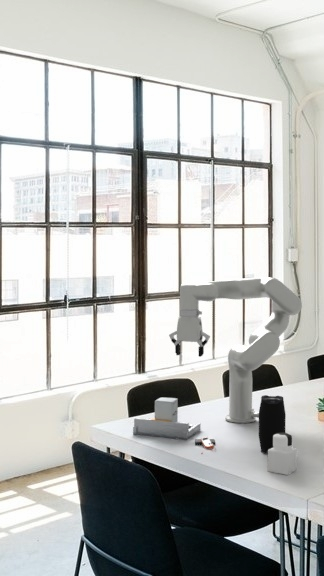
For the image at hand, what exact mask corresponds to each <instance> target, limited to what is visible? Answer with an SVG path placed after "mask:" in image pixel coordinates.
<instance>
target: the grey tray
mask: <svg viewBox="0 0 324 576" xmlns="http://www.w3.org/2000/svg"><path fill="white" fill-rule="evenodd" d="M133 419H134V421H133V423H134V425H133V427H132V434H133V435H135V436H136V435H137V436H145V437H146V436H147V437H155V438H162V439H163V438H164V439H170V440H171V439H173V440H183V441H188V440H189V439H191V438H192V437H194V435H196V434H197V433H199V432H200V431H201V422H197V423H196V424H190V422H183V421H182V422H181V421H178V422H173V421H171V420H161V419H155V418H141V417H140V418H139V417H134V418H133Z"/></svg>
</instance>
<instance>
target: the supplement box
mask: <svg viewBox="0 0 324 576" xmlns="http://www.w3.org/2000/svg"><path fill="white" fill-rule="evenodd" d="M178 400H179V399H178V398H176V397H158V398H157V399H156V400H154V419H161V420H171V421H173V422H179V421H178V419H179V418H178V417H179V416H178V414H179V411H178V410H179V409H178V406H179V404H178V403H179V402H178Z"/></svg>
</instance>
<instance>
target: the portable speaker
mask: <svg viewBox="0 0 324 576" xmlns="http://www.w3.org/2000/svg"><path fill="white" fill-rule="evenodd" d="M260 399H261V400H260V405H259V409H258V412H259V418H258V440H259V446H260V452H261V453H262V454H267V453H268V450H269V449H271V448H273V435H274V434H276V433H286V418H287V417H286V415H287V414H286V409H285V408H286V407H285V402H284V396H282V395H275V396H274V395H270V396H269V395H261V397H260Z"/></svg>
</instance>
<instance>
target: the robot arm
mask: <svg viewBox="0 0 324 576" xmlns="http://www.w3.org/2000/svg"><path fill="white" fill-rule="evenodd" d="M260 298H267V299H270V300H271V301H272V302H271V309H272V310H271V313H270V316H269V318H268V319H267V320H266V321H264V323H262V324H261V325H260V326H259V327H258V328H256V329H255V330H254V331H253V332H252V333H251V334H250V336H248V337H249V338H248V344H249V346H248V345H246V344H245V345H244V344H235V345H233V346H232V347H231V348H230V349H229V351H228V353H227V362H228V363H227V364H228V369H229V373H228V374H229V387H228V389H229V397H228V398H229V399H228V402H229V403H228V404H229V406H228V407H229V408H228V410H229V411H228V412H229V413H228V414H227V415H225V421H227V422H231V423H237V424H249V423H253V422H255V421H256V419H257V418H258V419H259V411H254V410H255V408H253V371H255V370H257V369H258V368H259V367H261V366H262V365H263V364H264V363H266V361H268V360H270V358H271V357H273V356H274V355H275V354H276V353H277V351H278V349H280V345H281V339H280V336H282V335H283V333H285V331H286V330H287V329H288V326H289V323H290V316H296V315H297V314H299V313H300V312H301V311H302V308H303V303H302V300H301V299H300V297H299V296H298V295H297V294H296V293H294V292H293V291H292V290H291V289H290V288H289V287H288V286H287V285H285V284H284V283H283V282H282V281H281V280H279V279H277V278H275V277H266V276H265V277H264V276H263V277H249V278H236V279H227V280H214V281H213V280H212V281H201V282H198V283H182V284H181V285H180V286H179V308H180V309H179V312H180V313H179V317H178V319H177V326H176V330H175V331H174V332H172V333H170V334H169V335H168V336H169V339H170V340H171V342H172V343H173V344H174V347H175V348H174V349H175V352H174V353H175V354H176V356H180V355H181V342H185V343H186V342H187V343H188V342H190V343H193V342H194V343H197V344H198V357H203V356H204V352H205V351H204V349H205V345H207V344H208V342H209V340H210V338H211V336H210V335H209V334H208V333H205V332H204V331H203V323H202V318H201V317H200V315H202V314H203V311H200V309H199V301H200V302H201V301H202V302H213V301H215V300H216V299H225V300H226V299H227V300H248V299H260ZM175 336H176V338H175ZM203 338H204V340H203Z"/></svg>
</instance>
